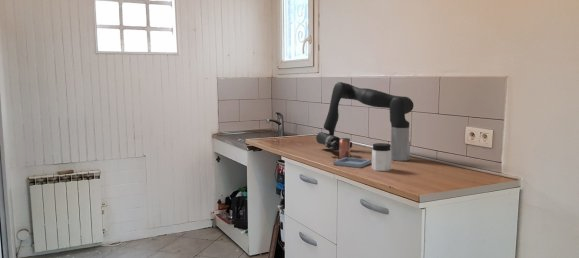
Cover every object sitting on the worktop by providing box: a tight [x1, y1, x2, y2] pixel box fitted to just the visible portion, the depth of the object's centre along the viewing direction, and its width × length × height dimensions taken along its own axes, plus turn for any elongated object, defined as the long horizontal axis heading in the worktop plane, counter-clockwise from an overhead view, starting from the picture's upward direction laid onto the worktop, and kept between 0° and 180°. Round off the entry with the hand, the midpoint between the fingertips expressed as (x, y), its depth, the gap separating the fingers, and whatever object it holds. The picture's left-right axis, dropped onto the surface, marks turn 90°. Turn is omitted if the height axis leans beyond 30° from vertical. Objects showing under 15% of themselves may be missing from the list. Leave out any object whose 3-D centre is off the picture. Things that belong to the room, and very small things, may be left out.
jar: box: [371, 142, 392, 172], centre depth 208 cm, size 9×8×12 cm
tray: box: [333, 157, 372, 169], centre depth 221 cm, size 14×14×2 cm
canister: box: [338, 137, 351, 160], centre depth 235 cm, size 6×6×11 cm
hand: (343, 146), depth 238 cm, fingers open, 8 cm apart
